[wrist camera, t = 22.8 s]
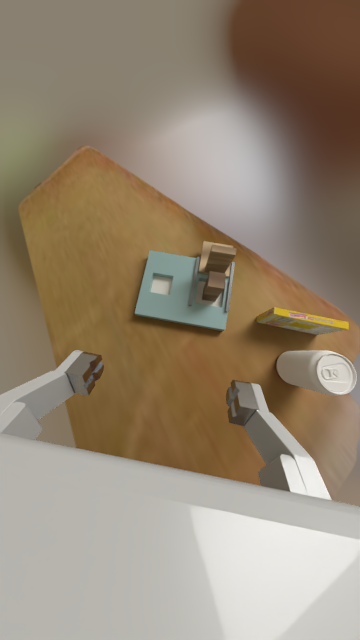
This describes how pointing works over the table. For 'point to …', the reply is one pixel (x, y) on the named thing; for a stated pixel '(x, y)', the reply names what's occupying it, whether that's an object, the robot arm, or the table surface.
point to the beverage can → (317, 371)
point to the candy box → (301, 321)
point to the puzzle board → (181, 292)
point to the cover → (216, 258)
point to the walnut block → (213, 286)
